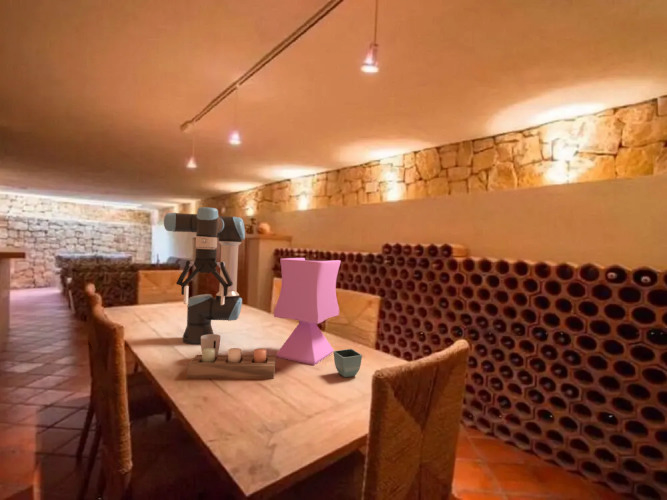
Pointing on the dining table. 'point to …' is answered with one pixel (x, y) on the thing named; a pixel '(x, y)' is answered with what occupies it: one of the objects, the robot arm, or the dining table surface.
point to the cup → (210, 342)
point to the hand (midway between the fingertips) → (204, 304)
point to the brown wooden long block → (232, 368)
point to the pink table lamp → (307, 307)
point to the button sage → (208, 355)
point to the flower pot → (347, 362)
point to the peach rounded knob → (234, 355)
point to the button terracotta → (260, 355)
